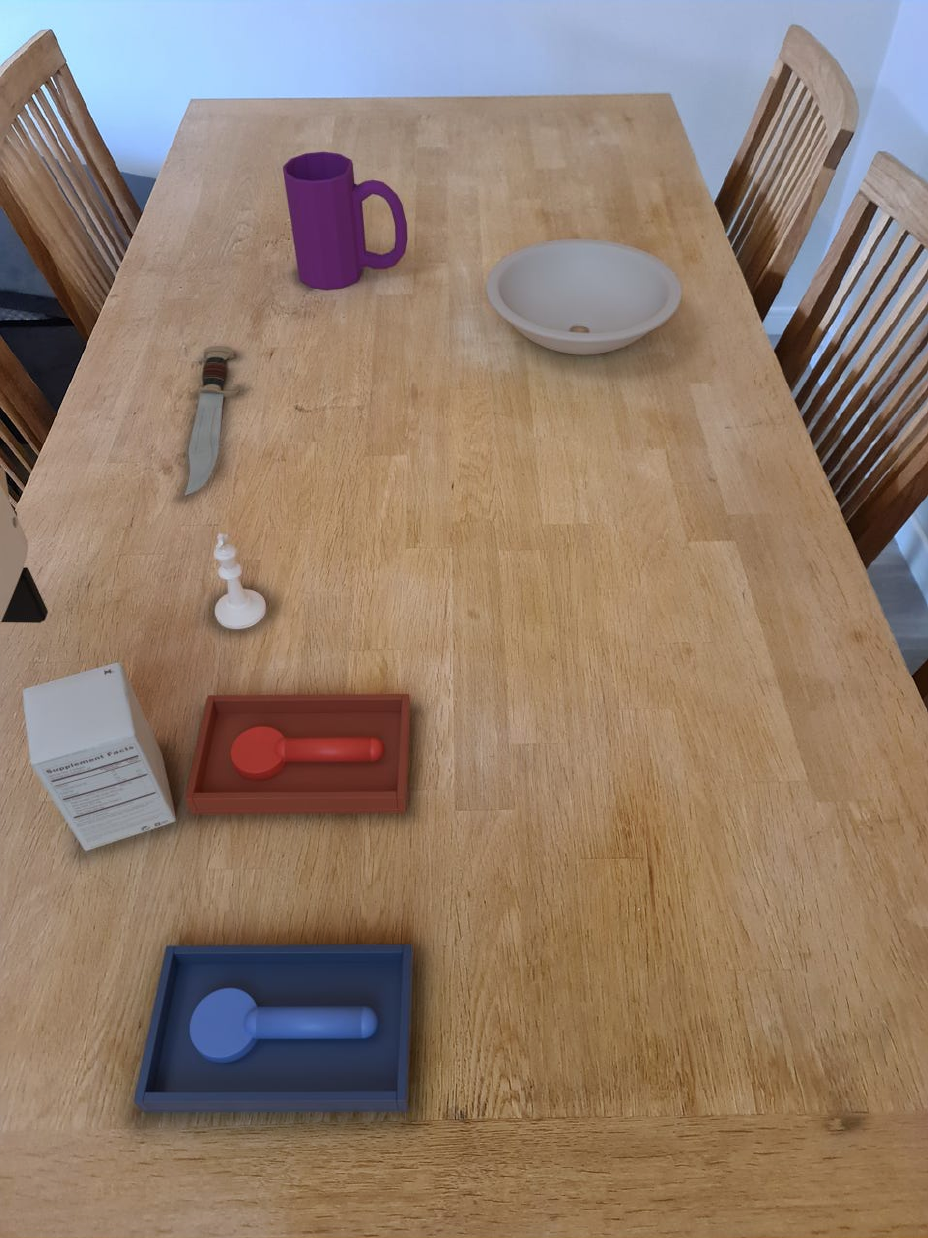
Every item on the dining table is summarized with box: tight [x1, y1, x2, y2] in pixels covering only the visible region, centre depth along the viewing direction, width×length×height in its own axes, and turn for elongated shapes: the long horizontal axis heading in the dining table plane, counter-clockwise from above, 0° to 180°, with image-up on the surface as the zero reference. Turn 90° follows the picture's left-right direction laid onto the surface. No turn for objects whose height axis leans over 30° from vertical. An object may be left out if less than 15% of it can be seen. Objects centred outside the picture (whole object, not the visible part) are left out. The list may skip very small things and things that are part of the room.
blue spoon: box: [190, 988, 378, 1063], centre depth 65 cm, size 13×5×2 cm, turn 90°
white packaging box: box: [22, 661, 177, 852], centre depth 74 cm, size 7×7×13 cm
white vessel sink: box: [485, 238, 683, 356], centre depth 122 cm, size 24×24×7 cm
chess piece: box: [213, 532, 267, 630], centre depth 89 cm, size 5×5×10 cm
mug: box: [282, 151, 408, 291], centre depth 129 cm, size 9×16×15 cm, turn 87°
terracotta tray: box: [184, 693, 412, 815], centre depth 80 cm, size 17×10×3 cm, turn 90°
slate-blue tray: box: [133, 943, 414, 1114], centre depth 65 cm, size 17×10×3 cm, turn 90°
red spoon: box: [230, 726, 384, 780], centre depth 80 cm, size 13×5×2 cm, turn 90°
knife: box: [184, 345, 240, 497], centre depth 112 cm, size 27×2×5 cm
